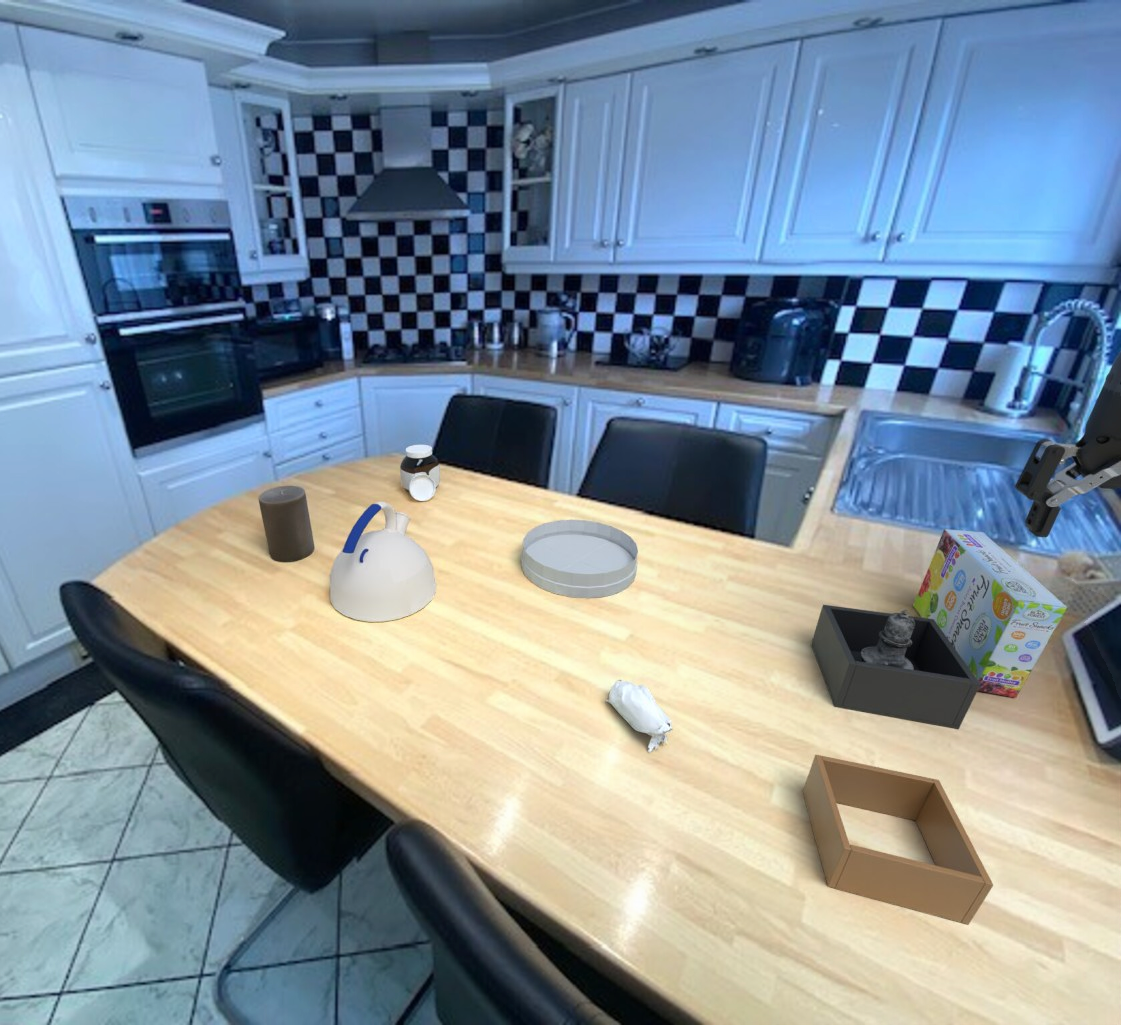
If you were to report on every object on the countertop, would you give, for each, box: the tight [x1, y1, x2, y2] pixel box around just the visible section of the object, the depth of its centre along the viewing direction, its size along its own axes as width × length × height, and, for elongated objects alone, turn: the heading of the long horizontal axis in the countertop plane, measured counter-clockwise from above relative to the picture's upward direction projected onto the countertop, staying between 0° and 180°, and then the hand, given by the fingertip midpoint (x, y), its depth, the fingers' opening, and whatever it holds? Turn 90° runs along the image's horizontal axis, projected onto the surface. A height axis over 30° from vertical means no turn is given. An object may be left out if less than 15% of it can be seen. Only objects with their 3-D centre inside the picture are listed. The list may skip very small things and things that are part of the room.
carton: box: [802, 754, 994, 925], centre depth 57 cm, size 11×11×6 cm
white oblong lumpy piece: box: [605, 680, 674, 753], centre depth 73 cm, size 5×7×10 cm
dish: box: [520, 519, 639, 599], centre depth 110 cm, size 22×22×5 cm
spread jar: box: [399, 444, 441, 502], centre depth 145 cm, size 12×11×12 cm
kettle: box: [329, 501, 438, 623], centre depth 102 cm, size 20×21×18 cm
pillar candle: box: [257, 484, 315, 563], centre depth 119 cm, size 10×10×15 cm
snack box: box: [912, 528, 1068, 698], centre depth 82 cm, size 21×6×15 cm, turn 161°
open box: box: [810, 604, 980, 730], centre depth 77 cm, size 14×14×8 cm
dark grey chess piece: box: [861, 609, 915, 670], centre depth 76 cm, size 6×6×12 cm
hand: (1088, 538), depth 60 cm, fingers open, 8 cm apart
